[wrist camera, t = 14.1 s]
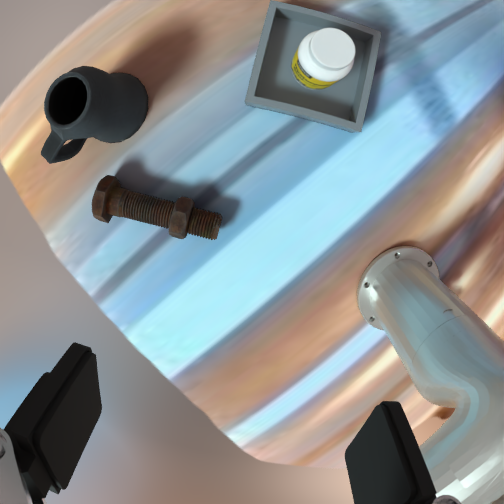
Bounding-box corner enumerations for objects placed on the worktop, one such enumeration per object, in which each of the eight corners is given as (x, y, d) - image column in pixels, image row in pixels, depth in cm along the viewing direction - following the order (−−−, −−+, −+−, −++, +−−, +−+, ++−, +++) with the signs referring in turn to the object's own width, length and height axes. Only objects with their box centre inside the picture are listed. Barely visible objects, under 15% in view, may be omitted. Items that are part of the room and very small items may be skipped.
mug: (115, 59, 31) (69, 38, 21) (163, 100, 33) (126, 87, 23) (60, 133, 34) (6, 137, 24) (103, 175, 37) (54, 190, 26)
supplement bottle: (281, 74, 32) (290, 52, 23) (305, 39, 30) (322, 9, 21) (322, 100, 33) (344, 87, 23) (345, 65, 31) (374, 43, 22)
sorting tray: (371, 40, 30) (381, 32, 27) (351, 132, 34) (360, 132, 31) (269, 11, 29) (270, 0, 26) (246, 105, 34) (244, 101, 30)
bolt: (220, 225, 41) (111, 197, 39) (228, 195, 37) (109, 167, 35) (210, 260, 37) (92, 228, 35) (218, 231, 33) (87, 197, 31)
